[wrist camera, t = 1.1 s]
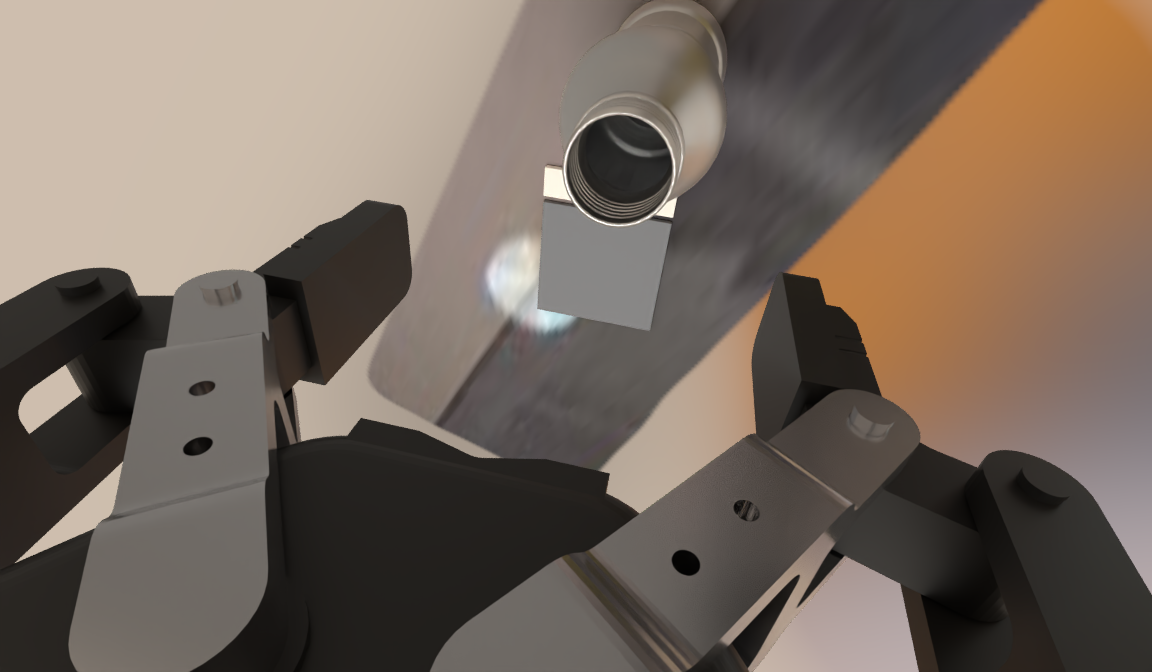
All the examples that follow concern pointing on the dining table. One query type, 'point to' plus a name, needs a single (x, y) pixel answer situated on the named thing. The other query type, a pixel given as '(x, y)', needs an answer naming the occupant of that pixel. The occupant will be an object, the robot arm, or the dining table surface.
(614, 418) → the dining table surface
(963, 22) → the dining table surface
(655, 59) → the plastic bottle
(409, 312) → the dining table surface
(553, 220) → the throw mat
